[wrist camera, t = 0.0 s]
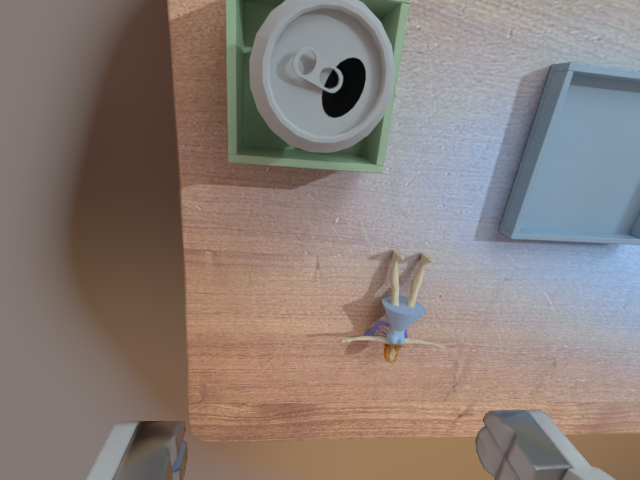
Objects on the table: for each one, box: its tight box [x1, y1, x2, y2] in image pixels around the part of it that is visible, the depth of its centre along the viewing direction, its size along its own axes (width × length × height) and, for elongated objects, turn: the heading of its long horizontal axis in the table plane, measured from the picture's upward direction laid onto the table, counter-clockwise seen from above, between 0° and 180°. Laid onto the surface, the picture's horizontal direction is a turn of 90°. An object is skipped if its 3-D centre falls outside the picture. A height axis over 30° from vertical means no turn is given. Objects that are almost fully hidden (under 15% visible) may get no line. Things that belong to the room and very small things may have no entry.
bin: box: [225, 0, 411, 173], centre depth 24 cm, size 11×11×5 cm
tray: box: [499, 62, 640, 245], centre depth 31 cm, size 15×15×2 cm
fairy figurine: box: [342, 250, 445, 363], centre depth 34 cm, size 12×5×12 cm
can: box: [249, 0, 395, 153], centre depth 21 cm, size 8×8×12 cm
